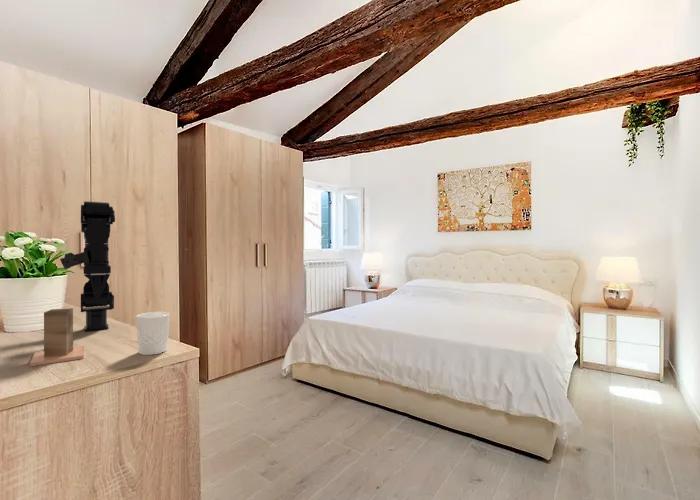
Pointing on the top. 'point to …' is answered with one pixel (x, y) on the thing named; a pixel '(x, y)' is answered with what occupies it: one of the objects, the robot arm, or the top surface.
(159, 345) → the white cup
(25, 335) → the top surface
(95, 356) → the top surface
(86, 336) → the top surface
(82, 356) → the terracotta tile
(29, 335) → the top surface
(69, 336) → the walnut block
